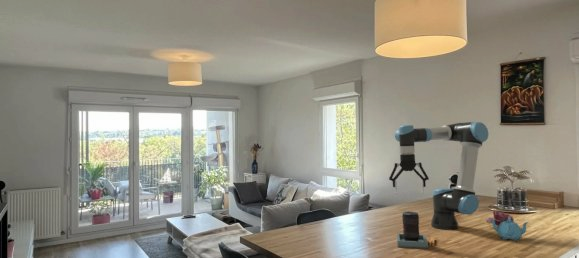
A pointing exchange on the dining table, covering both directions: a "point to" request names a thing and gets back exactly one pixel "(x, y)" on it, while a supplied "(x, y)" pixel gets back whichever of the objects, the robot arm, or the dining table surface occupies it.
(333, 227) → the dining table surface
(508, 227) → the teapot
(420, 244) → the tray
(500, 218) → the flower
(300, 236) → the dining table surface
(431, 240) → the fuse puller tool
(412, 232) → the camera lens
